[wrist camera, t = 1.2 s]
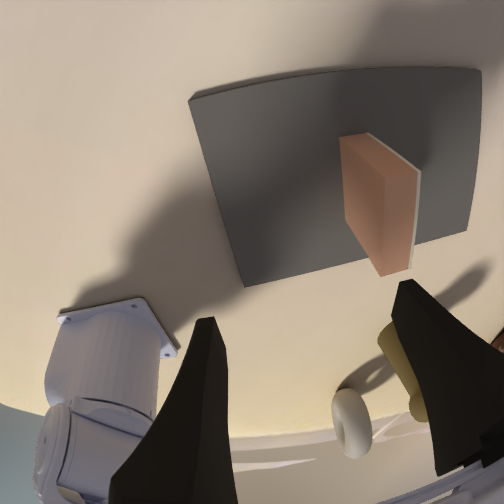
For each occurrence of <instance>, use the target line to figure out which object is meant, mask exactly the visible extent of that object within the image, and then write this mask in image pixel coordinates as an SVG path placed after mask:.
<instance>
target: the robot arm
mask: <svg viewBox="0 0 504 504" xmlns="http://www.w3.org/2000/svg"><path fill="white" fill-rule="evenodd" d="M133 304H135V305H133ZM391 317H392V320H393V323H394V326H395V329H396V332H397V335H398V338H399V340H400V343H401V345H402V347H403V349H404V352H405V354H406V356H407V358H408V360H409V363H410V365H411V367H412V370H413V372H414V374H415V376H416V379H417V381H418V384H419V387H420V389H421V393H422V396H423V400H424V404H425V407H426V411H427V416H428V420H429V424H430V430H431V436H432V442H433V450H434V459H435V470H436V473H437V476H438V477H439V476H442V475H444V474H446V473H448V472H450V471H452V470H455V469H457V468H459V467H461V466H464V469H462V470H460V471H458V472H455V473H454V474H451V475H449V476H447V477H445V478H443V479H440V480H438V481H436V482H434V483H431V484H429V485H426V486H424V487H422V488H419V489H416V490H414V491H411V492H409V493H406V494H403V495H400V496H398V497H395V498H392V499H389V500H386V501H383V502H379V503H376V504H420V503H422V502H425V501H427V500H429V499H432V498H434V497H436V496H439V495H441V494H442V493H445V492H447V491H449V490H451V489H453V492H452V494H451V495H449V496H446V497H444V498H441V499H439V500H436V501H434V502H432V503H430V504H504V353H502V352H501V351H499V350H497V349H496V348H494V347H493V346H491V345H490V344H488V343H487V342H486V341H484V340H483V339H481V338H480V337H479V336H477V335H476V334H475V333H473V332H472V331H471V330H470V329H468V328H467V327H466V326H465V325H464V324H462V323H461V322H460V321H459V320H458V319H456V318H455V317H454V316H453V315H452V314H451V313H450V312H449V311H447V310H446V309H445V308H444V307H443V306H442V305H441V304H440V303H439V302H437V301H436V300H435V299H434V298H433V297H432V296H431V295H430V294H429V293H428V292H427V291H426V290H424V289H423V288H422V287H421V286H420V285H419V284H418V283H417V282H416V281H415V280H413V279H409V280H405V281H401V282H399V286H398V290H397V294H396V298H395V302H394V306H393V310H392V314H391ZM56 319H57V321H58V322H59V324H60V325H61V327H60V329H59V332H58V335H57V338H56V341H55V344H54V347H53V350H52V353H51V357H50V360H49V363H48V366H47V370H46V373H45V381H44V384H45V393H46V398H47V401H48V403H49V405H50V408H49V410H48V411H47V413H46V415H45V418H44V420H43V423H42V426H41V429H40V432H39V436H38V441H37V447H36V454H35V468H34V473H33V484H34V489H35V491H36V494H37V497H38V499H39V501H40V502H41V503H42V504H238V500H237V494H236V489H235V482H234V476H233V469H232V462H231V454H230V445H229V435H228V365H227V355H226V347H225V344H224V342H223V339H222V336H221V334H220V331H219V328H218V326H217V323H216V320H215V318H214V317H207V318H200V319H198V320H197V321H196V323H195V327H194V331H193V334H192V337H191V340H190V343H189V346H188V349H187V352H186V354H185V357H184V360H183V362H182V365H181V367H180V370H179V372H178V375H177V377H176V379H175V381H174V384H173V386H172V388H171V390H170V392H169V394H168V396H167V398H166V400H165V402H164V404H163V406H162V408H161V410H160V411H159V413H158V415H157V417H156V407H157V390H158V376H159V363H160V359H163V358H170V357H175V356H177V353H178V351H177V350H176V348H175V347H174V345H173V344H172V342H171V341H170V339H169V337H168V336H167V334H166V333H165V331H164V330H163V328H162V327H161V325H160V324H159V322H158V320H157V319H156V317H155V316H154V314H153V312H152V311H151V309H150V308H149V306H148V304H147V303H146V301H145V300H144V299H142V298H135V299H130V300H126V301H121V302H116V303H111V304H107V305H102V306H97V307H92V308H87V309H82V310H77V311H72V312H67V313H62V314H58V315H57V318H56Z"/></svg>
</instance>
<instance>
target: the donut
mask: <svg viewBox="0 0 504 504" xmlns="http://www.w3.org/2000/svg"><path fill="white" fill-rule="evenodd" d="M332 417H333V423H334V428H335V432H336V436H337V439H338V442H339V445H340V447H341V449H342V451H343V453H345V455H346V456H348V457H350V458H353V459H356V458H360V457H362V456H364V455H366V454H367V453H368V451H369V450H370V447H371V444H372V426H371V421H370V416H369V413H368V410H367V407H366V405H365V402H364V400H363V399H362V397H361V396H360V394H359V393H358V392H357V391H355V390H354V389H350V388H346V389H341V390H339V391H338V392H336V394H335V395H334V397H333V400H332Z"/></svg>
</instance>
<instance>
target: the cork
mask: <svg viewBox="0 0 504 504" xmlns="http://www.w3.org/2000/svg"><path fill="white" fill-rule="evenodd" d="M378 345H379V346H380V348H381V349H382V351H383V353H384V354H385V356H386V357H387V359H388V361H389V362H390V364H391V365H392V367H393V369H394V370H395V372H396V374H397V375H398V377H399V379H400V380H401V382H402V383H403V385H404V387H405V388H406V390H407V392H408V394H409V395H410V401H409V410H410V412H411V415H412V416H413V417H414V419H415V420H417V421H418V422H429V420H428V416H427V411H426V407H425V404H424V400H423V396H422V393H421V389H420V387H419V384H418V381H417V379H416V376H415V374H414V372H413V370H412V367H411V365H410V363H409V360H408V358H407V356H406V354H405V352H404V349H403V347H402V345H401V343H400V340H399V338H398V335H397V332H396V329H395V326H394V323H393V321H392V322H391V323H390V324H389V325H387V326H386V327H385V328H384V329H383V330H382V332H381V333H380V335H379V337H378Z"/></svg>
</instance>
